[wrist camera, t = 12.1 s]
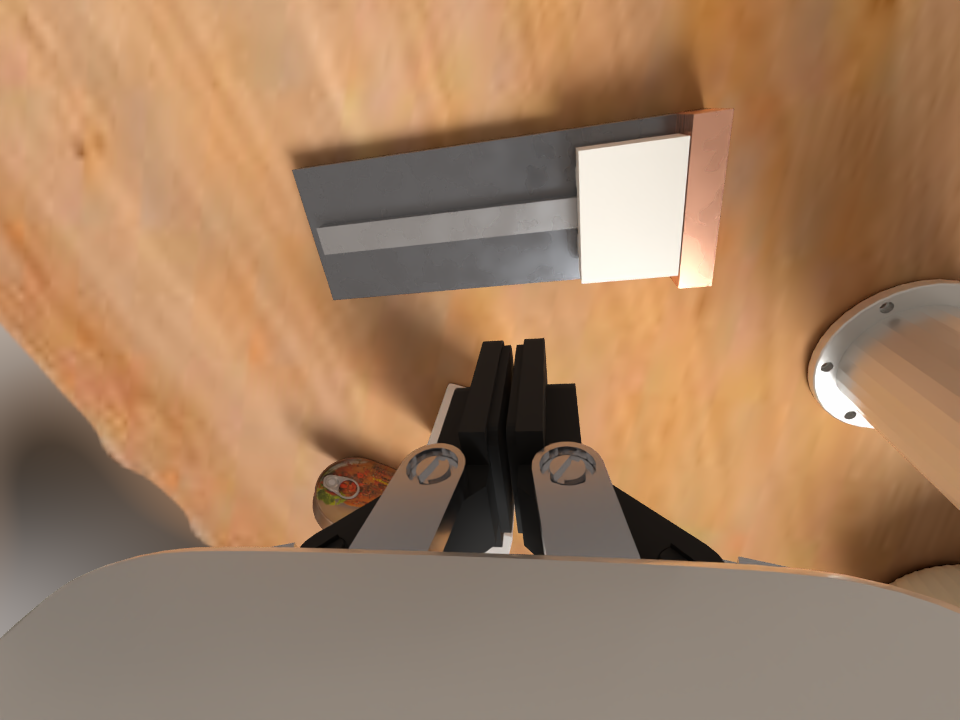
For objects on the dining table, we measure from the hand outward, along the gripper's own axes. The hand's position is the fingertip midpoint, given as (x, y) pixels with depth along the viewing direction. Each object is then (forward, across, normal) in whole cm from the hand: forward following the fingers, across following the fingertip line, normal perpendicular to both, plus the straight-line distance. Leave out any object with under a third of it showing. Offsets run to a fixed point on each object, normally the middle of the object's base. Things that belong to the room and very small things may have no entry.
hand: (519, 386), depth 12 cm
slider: (+21, -6, 0) cm, 22 cm away
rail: (+23, +3, 0) cm, 23 cm away
